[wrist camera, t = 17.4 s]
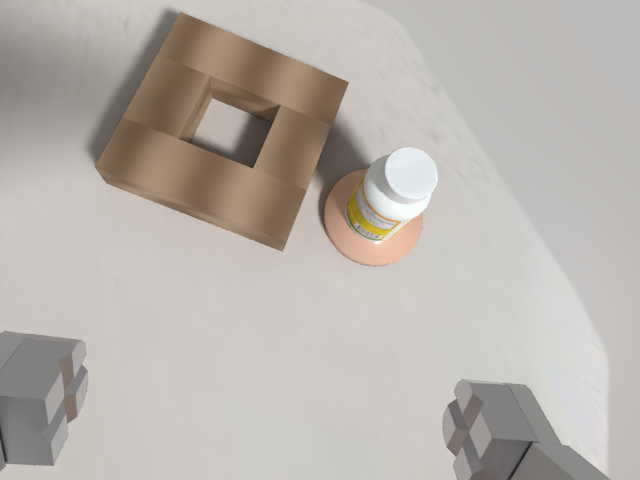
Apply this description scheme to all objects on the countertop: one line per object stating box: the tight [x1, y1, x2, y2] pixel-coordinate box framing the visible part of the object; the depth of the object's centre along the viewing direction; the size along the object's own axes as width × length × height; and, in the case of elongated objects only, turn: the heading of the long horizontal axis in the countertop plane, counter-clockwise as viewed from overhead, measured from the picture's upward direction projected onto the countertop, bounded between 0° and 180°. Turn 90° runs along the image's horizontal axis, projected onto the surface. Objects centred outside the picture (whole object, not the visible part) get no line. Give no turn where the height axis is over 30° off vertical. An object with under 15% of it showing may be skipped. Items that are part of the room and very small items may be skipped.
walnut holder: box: [95, 12, 349, 252], centre depth 42 cm, size 16×16×4 cm
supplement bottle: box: [346, 147, 438, 241], centre depth 38 cm, size 5×5×10 cm
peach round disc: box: [324, 168, 423, 266], centre depth 43 cm, size 9×9×1 cm
